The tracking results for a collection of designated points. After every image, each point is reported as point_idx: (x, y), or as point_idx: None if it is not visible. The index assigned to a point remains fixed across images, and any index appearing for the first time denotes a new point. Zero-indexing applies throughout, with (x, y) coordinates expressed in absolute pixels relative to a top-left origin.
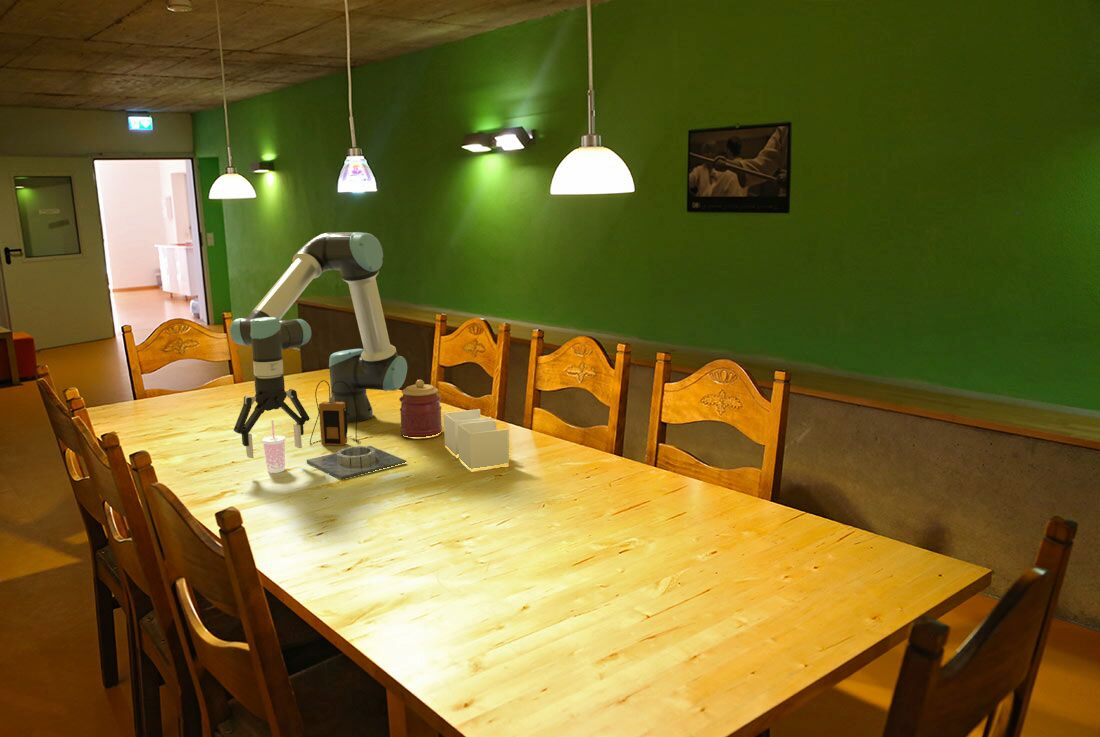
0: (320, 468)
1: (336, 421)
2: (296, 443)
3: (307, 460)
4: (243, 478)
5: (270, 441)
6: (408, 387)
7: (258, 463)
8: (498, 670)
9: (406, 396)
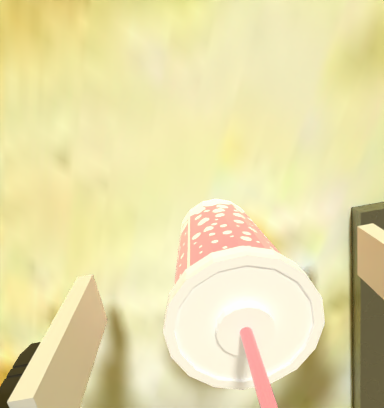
0: (355, 315)
1: None
2: (370, 257)
3: (359, 219)
4: (78, 268)
5: (205, 379)
6: None
7: (171, 85)
8: None
9: None
